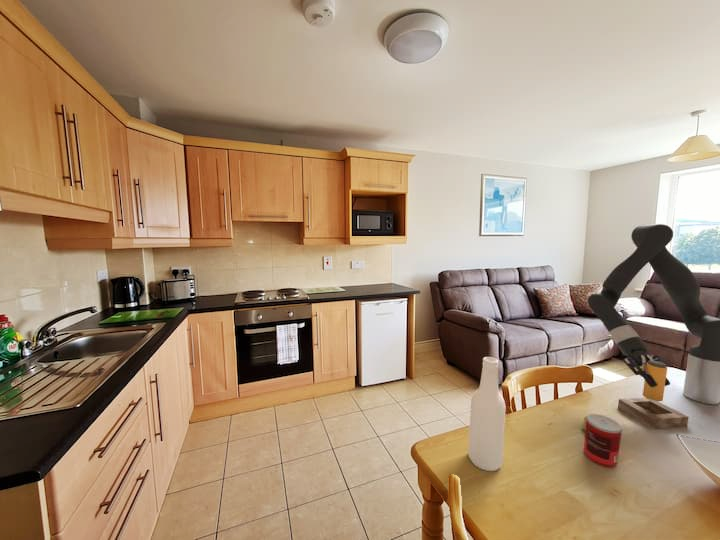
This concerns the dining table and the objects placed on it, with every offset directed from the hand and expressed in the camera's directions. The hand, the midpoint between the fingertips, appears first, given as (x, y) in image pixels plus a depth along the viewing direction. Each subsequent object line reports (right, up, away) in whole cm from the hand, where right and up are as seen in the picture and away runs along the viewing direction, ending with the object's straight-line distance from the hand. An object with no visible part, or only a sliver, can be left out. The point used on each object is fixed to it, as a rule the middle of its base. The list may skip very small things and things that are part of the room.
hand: (660, 385), depth 100 cm
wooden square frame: (0, -12, +3) cm, 13 cm away
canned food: (-35, -15, -16) cm, 41 cm away
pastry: (-26, -14, -5) cm, 30 cm away
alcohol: (-69, -14, -18) cm, 72 cm away
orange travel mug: (0, -5, +2) cm, 6 cm away
